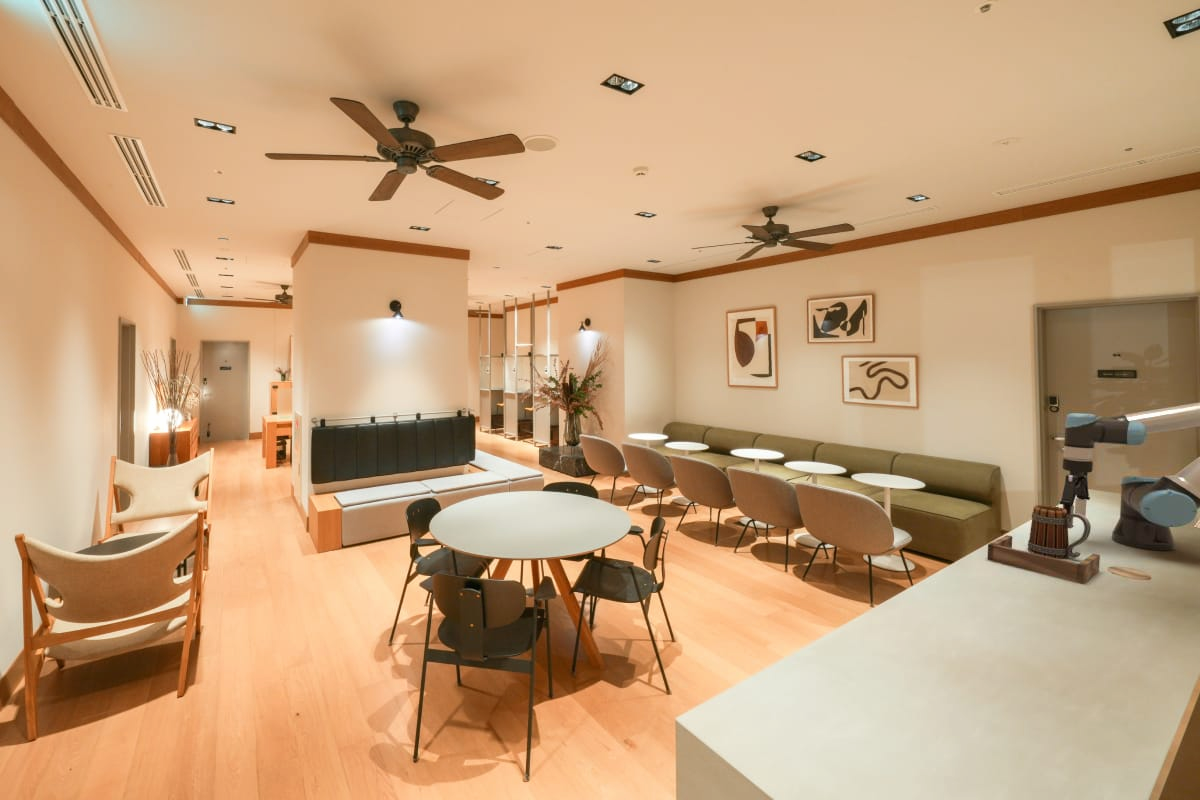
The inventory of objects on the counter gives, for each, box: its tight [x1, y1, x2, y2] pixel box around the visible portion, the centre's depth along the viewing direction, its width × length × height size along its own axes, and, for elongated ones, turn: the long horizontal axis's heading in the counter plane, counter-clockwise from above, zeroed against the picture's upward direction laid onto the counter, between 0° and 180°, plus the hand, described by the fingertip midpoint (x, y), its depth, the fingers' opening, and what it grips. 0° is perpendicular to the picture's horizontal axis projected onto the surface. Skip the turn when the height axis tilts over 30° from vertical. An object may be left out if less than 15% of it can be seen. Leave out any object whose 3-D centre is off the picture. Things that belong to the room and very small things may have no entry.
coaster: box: [1107, 566, 1152, 581], centre depth 156 cm, size 9×9×1 cm
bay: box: [986, 535, 1101, 585], centre depth 163 cm, size 16×23×5 cm
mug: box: [1027, 504, 1092, 559], centre depth 171 cm, size 16×11×15 cm
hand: (1073, 521), depth 181 cm, fingers open, 13 cm apart
